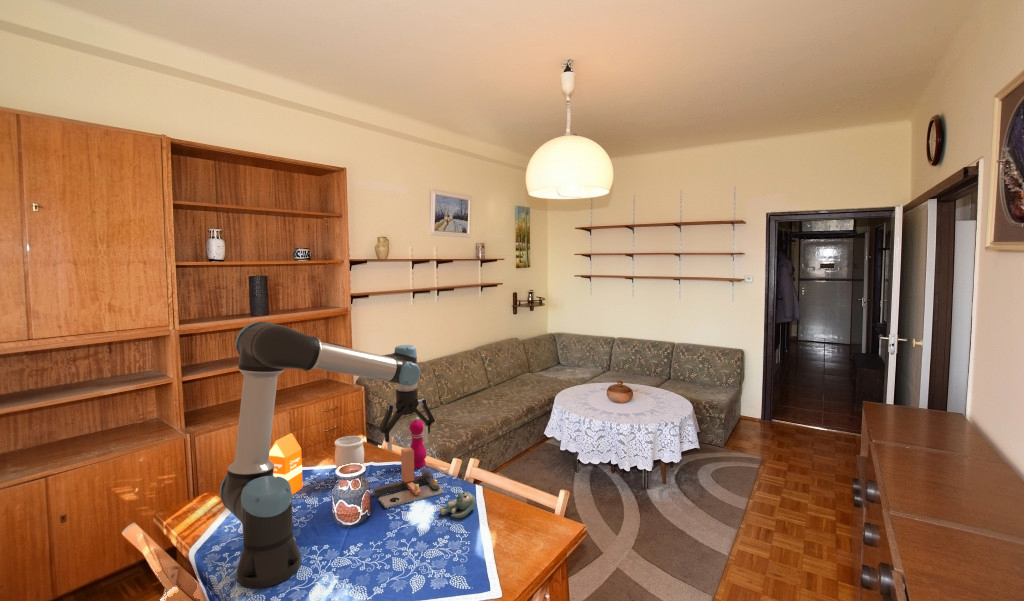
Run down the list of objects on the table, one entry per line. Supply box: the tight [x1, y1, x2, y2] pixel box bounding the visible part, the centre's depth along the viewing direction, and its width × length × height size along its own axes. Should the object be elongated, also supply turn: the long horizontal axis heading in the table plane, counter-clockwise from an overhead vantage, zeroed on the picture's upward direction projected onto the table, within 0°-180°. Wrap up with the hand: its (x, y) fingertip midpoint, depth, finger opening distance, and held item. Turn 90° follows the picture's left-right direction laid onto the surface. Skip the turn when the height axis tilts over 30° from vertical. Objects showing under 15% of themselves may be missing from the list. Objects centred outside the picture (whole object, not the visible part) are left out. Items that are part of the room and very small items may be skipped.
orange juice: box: [269, 432, 303, 495], centre depth 172 cm, size 8×9×20 cm
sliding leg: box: [400, 446, 421, 495], centre depth 172 cm, size 12×4×13 cm, turn 33°
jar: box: [334, 435, 365, 469], centre depth 182 cm, size 11×10×15 cm
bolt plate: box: [378, 484, 444, 509], centre depth 169 cm, size 7×21×1 cm, turn 123°
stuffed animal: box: [439, 491, 477, 519], centre depth 158 cm, size 11×7×12 cm
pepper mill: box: [409, 416, 427, 470], centre depth 194 cm, size 7×7×20 cm
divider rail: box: [372, 468, 440, 498], centre depth 172 cm, size 11×22×4 cm, turn 123°
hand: (408, 446), depth 175 cm, fingers open, 13 cm apart
